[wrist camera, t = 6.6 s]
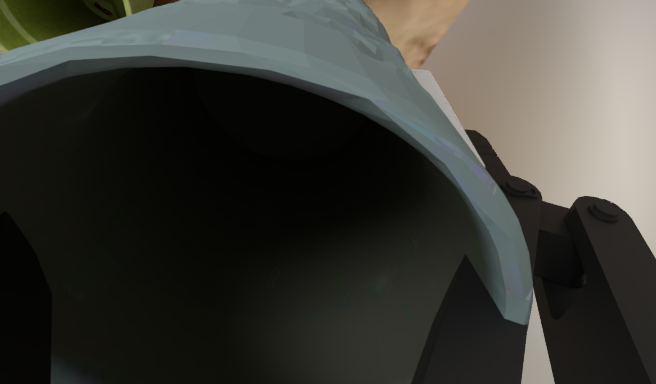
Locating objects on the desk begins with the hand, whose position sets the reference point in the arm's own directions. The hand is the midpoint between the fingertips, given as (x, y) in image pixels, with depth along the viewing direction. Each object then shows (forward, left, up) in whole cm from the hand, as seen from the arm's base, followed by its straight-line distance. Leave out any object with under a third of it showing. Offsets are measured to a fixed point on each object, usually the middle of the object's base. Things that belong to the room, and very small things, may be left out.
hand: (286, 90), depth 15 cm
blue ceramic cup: (0, 0, -1) cm, 1 cm away
